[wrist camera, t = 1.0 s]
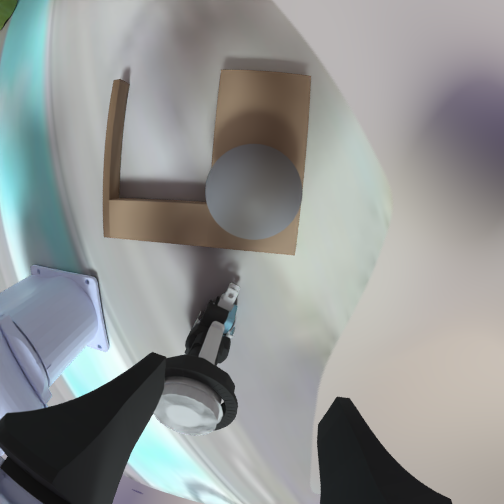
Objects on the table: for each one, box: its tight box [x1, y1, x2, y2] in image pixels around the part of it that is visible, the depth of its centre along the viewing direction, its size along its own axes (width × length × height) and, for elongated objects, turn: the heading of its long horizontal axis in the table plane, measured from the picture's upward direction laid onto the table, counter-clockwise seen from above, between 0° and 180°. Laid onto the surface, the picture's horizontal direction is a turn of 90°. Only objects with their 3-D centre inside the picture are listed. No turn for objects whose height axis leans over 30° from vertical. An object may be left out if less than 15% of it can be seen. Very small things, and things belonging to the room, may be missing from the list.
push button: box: [153, 283, 240, 436], centre depth 16 cm, size 7×5×10 cm
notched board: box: [103, 70, 311, 255], centre depth 16 cm, size 14×12×4 cm
